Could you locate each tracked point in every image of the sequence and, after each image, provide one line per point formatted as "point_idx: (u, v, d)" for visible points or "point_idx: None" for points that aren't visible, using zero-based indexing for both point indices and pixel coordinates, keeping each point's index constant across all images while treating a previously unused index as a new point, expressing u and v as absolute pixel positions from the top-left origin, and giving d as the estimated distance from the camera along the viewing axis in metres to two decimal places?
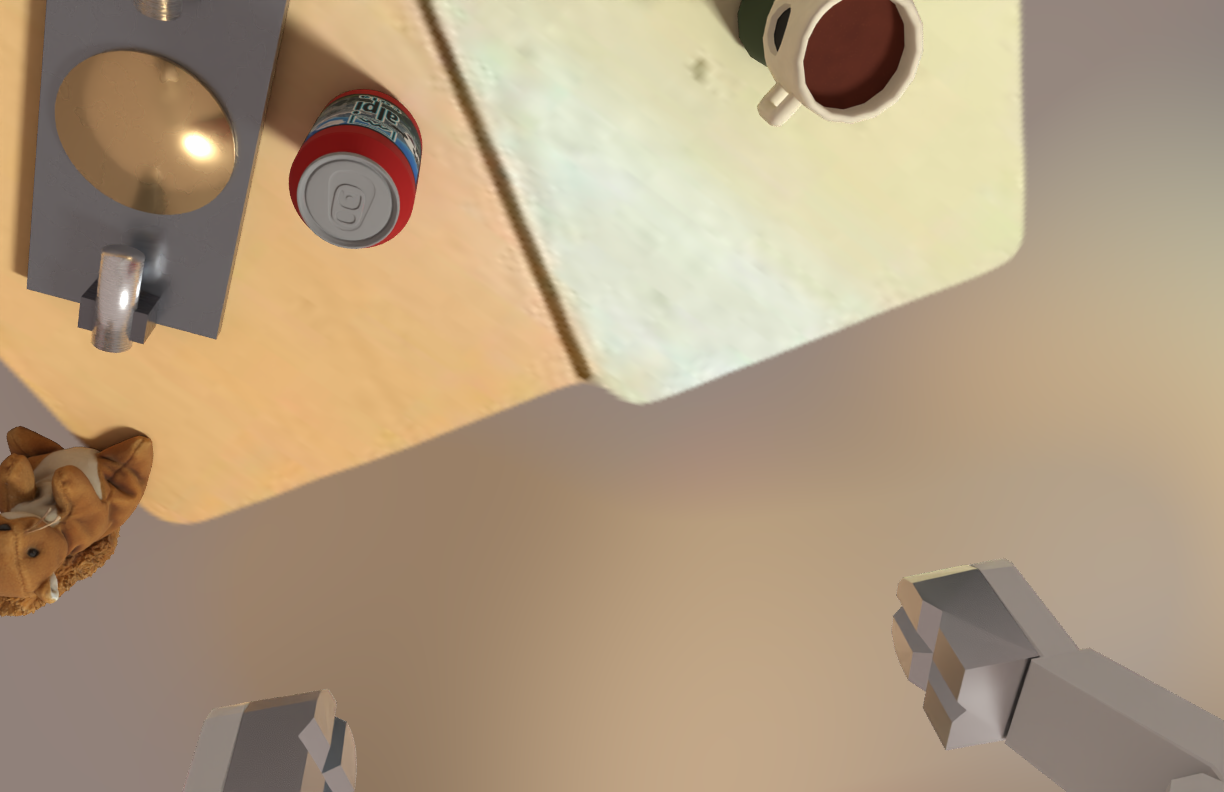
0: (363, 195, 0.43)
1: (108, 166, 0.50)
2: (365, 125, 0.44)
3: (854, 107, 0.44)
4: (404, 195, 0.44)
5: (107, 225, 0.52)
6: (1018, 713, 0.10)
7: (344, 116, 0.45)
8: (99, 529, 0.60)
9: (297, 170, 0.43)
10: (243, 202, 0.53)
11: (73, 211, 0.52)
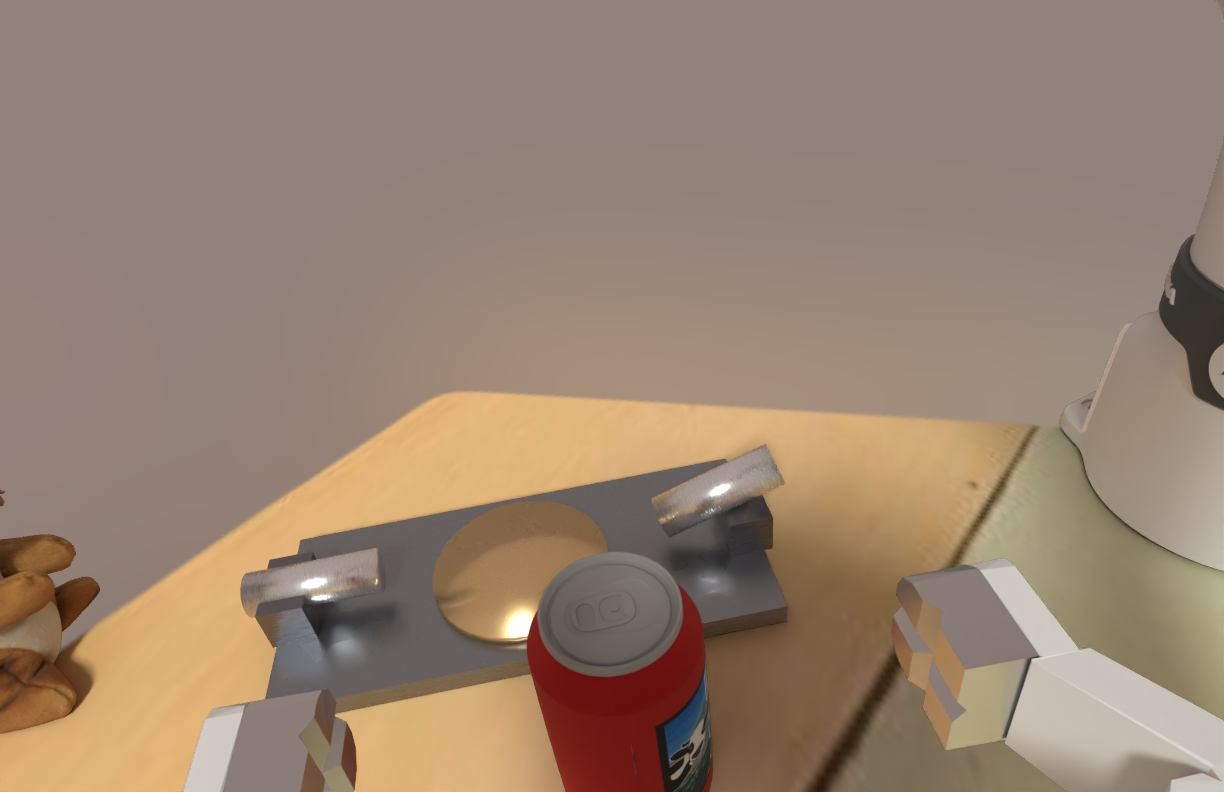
0: (629, 620, 0.29)
1: (473, 548, 0.46)
2: None
3: None
4: (657, 674, 0.27)
5: (400, 571, 0.46)
6: (1018, 713, 0.10)
7: None
8: None
9: None
10: (482, 667, 0.40)
11: (407, 545, 0.48)
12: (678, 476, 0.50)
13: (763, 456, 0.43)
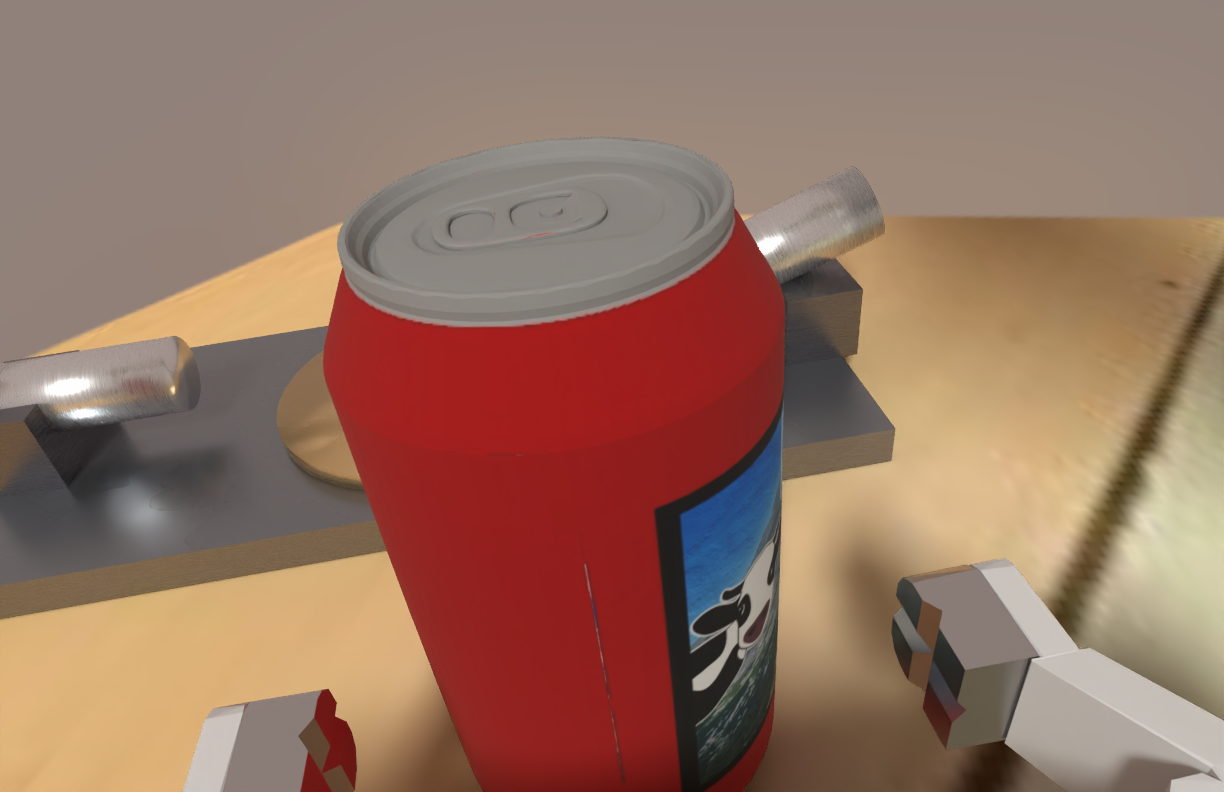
0: (587, 227, 0.10)
1: None
2: None
3: None
4: (664, 333, 0.09)
5: (236, 397, 0.28)
6: (1018, 713, 0.10)
7: None
8: None
9: None
10: (338, 525, 0.22)
11: (256, 365, 0.30)
12: None
13: (849, 178, 0.24)
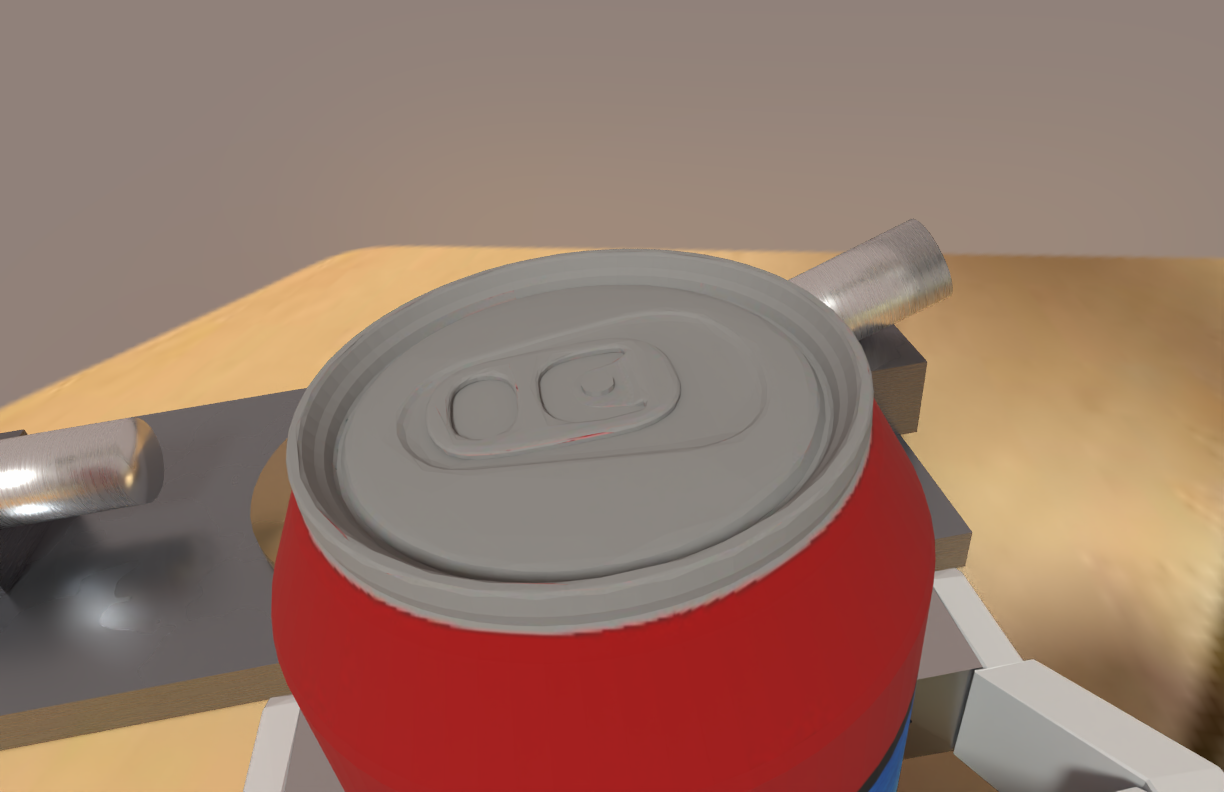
0: (655, 420, 0.07)
1: None
2: None
3: None
4: (791, 628, 0.06)
5: (206, 477, 0.25)
6: (964, 724, 0.10)
7: None
8: None
9: None
10: None
11: (231, 436, 0.26)
12: None
13: (912, 235, 0.21)
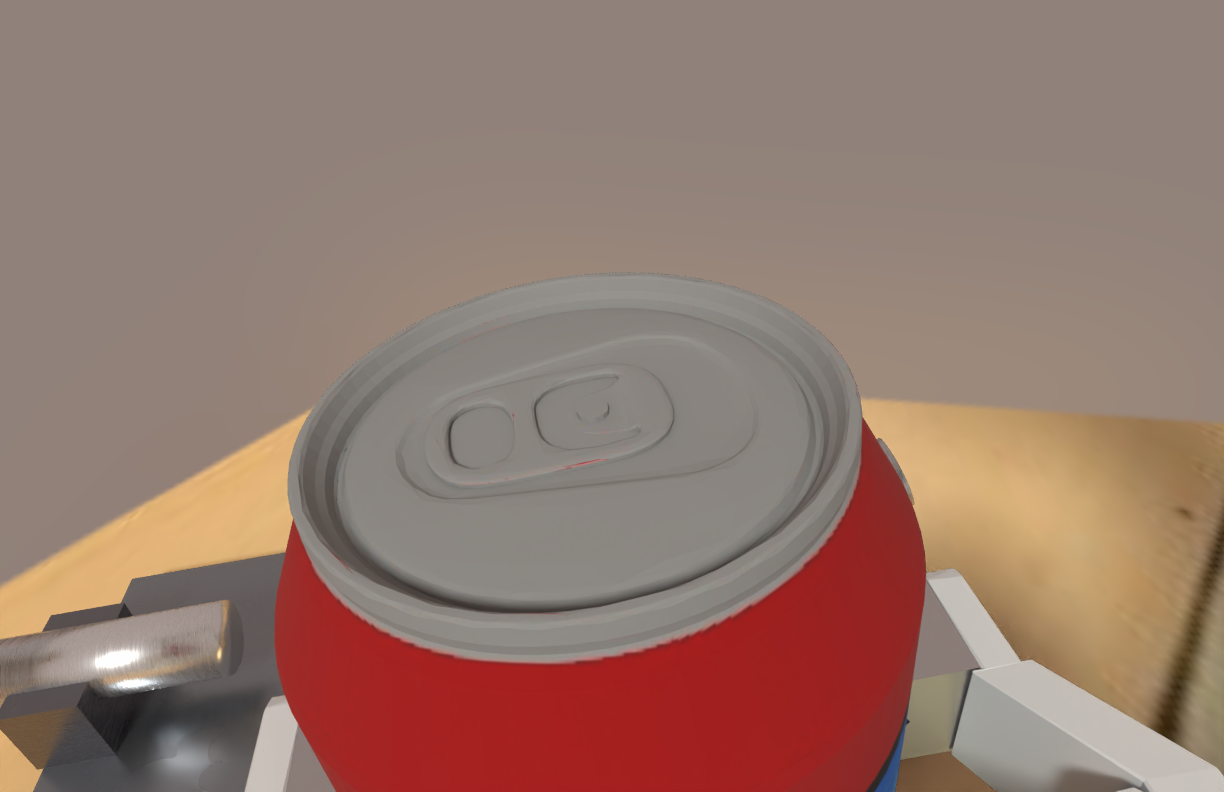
0: (650, 445, 0.07)
1: None
2: None
3: None
4: (787, 650, 0.06)
5: None
6: (962, 724, 0.10)
7: None
8: None
9: None
10: None
11: None
12: None
13: None
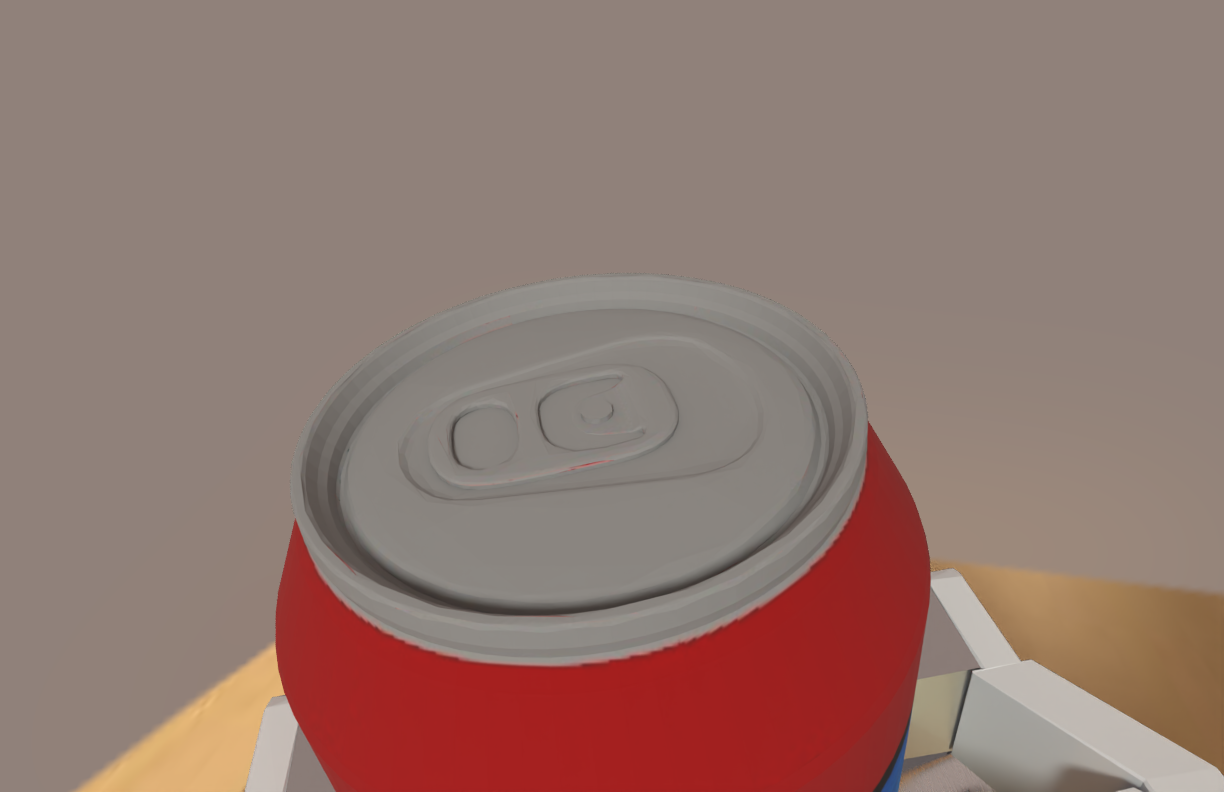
0: (655, 446, 0.07)
1: None
2: None
3: None
4: (792, 652, 0.06)
5: None
6: (962, 724, 0.10)
7: None
8: None
9: None
10: None
11: None
12: None
13: None
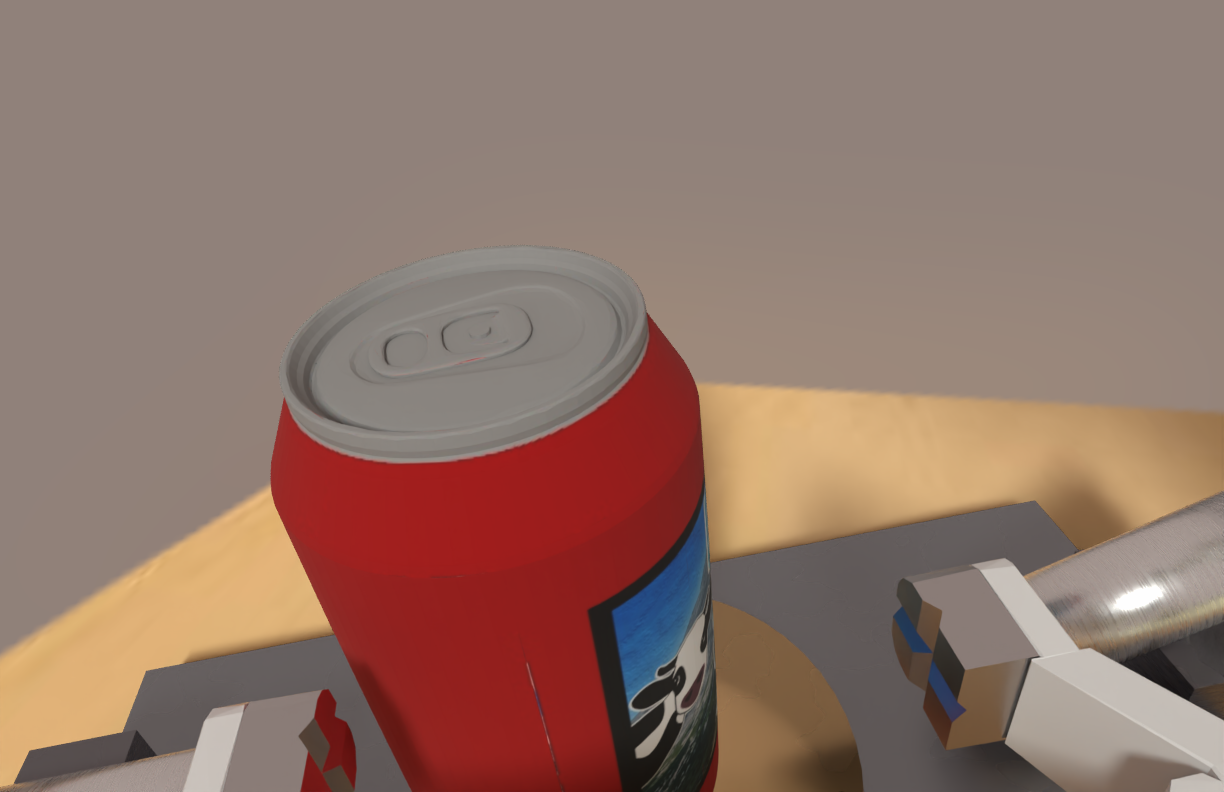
0: (514, 349, 0.11)
1: None
2: None
3: None
4: (586, 456, 0.10)
5: None
6: (1018, 713, 0.10)
7: None
8: None
9: None
10: None
11: None
12: (947, 538, 0.24)
13: None
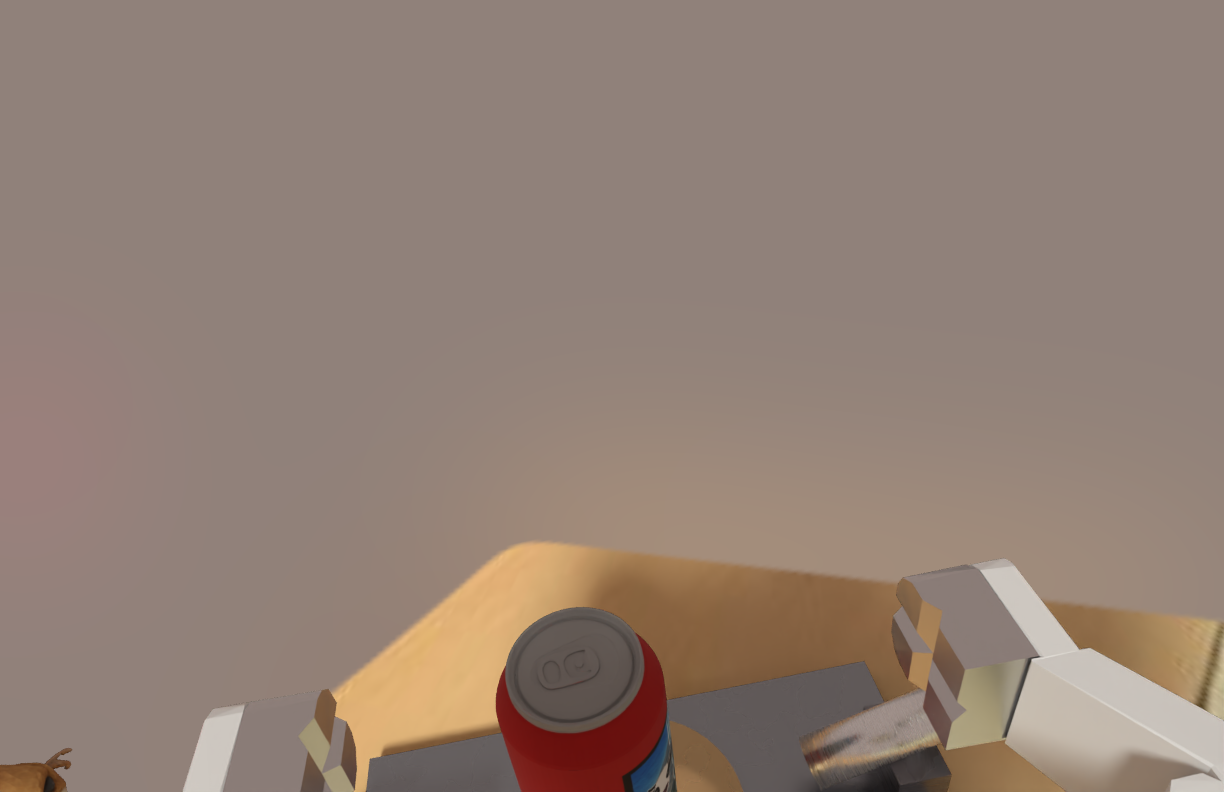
0: (593, 675, 0.30)
1: None
2: None
3: None
4: (622, 727, 0.29)
5: None
6: (1018, 713, 0.10)
7: None
8: None
9: None
10: None
11: (498, 774, 0.40)
12: (812, 685, 0.43)
13: None
